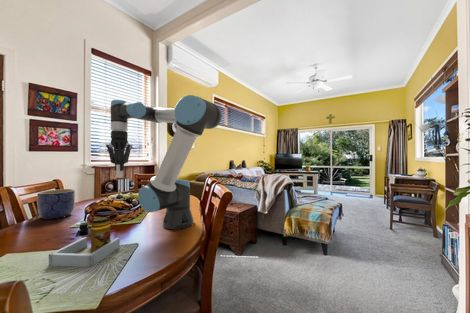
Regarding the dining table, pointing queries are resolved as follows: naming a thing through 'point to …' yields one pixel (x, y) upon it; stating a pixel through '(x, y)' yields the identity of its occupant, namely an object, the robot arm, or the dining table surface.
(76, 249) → the bay
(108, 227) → the condiment
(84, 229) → the black angular block
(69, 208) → the planter
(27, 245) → the dining table surface
